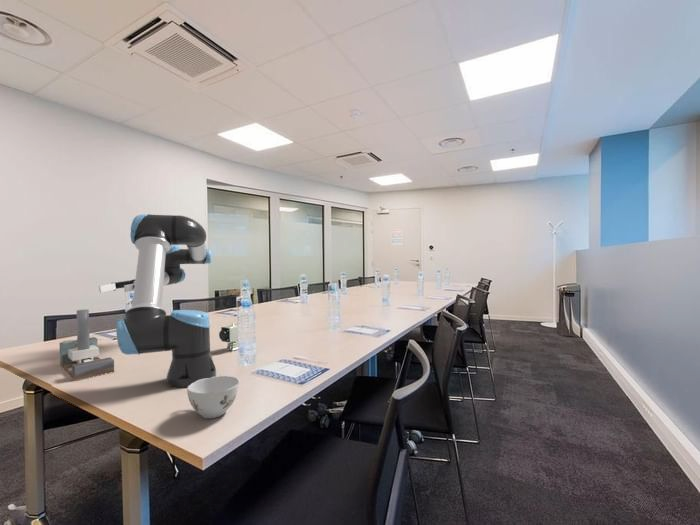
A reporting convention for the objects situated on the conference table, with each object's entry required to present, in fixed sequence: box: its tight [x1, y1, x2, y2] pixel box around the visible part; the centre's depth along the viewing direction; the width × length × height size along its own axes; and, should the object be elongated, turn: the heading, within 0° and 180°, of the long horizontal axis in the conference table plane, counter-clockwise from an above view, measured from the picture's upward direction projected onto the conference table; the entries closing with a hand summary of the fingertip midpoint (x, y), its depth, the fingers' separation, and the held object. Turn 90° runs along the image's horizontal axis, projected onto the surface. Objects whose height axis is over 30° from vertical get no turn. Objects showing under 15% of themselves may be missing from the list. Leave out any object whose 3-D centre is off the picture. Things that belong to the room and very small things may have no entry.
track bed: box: [59, 336, 115, 382], centre depth 123 cm, size 27×11×9 cm, turn 50°
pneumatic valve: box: [218, 322, 239, 352], centre depth 146 cm, size 6×12×12 cm, turn 150°
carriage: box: [68, 308, 100, 364], centre depth 125 cm, size 8×8×20 cm
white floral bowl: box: [186, 375, 240, 419], centre depth 86 cm, size 15×12×8 cm
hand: (112, 289), depth 133 cm, fingers open, 13 cm apart
